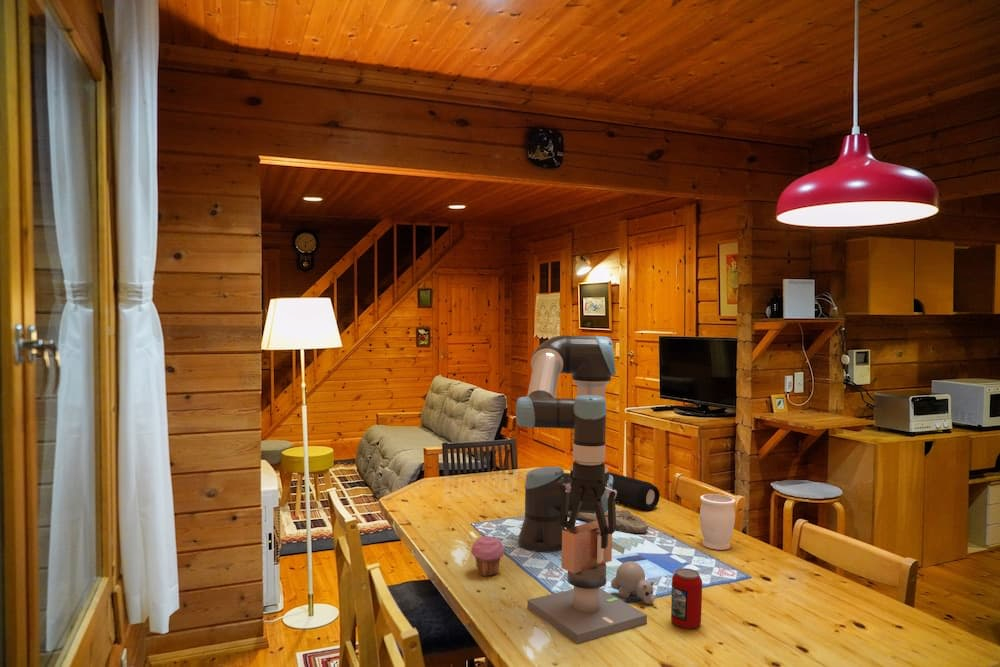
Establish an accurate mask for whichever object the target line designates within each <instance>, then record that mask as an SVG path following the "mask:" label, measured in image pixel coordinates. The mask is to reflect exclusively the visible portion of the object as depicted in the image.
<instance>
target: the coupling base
mask: <svg viewBox="0 0 1000 667" xmlns="http://www.w3.org/2000/svg"><path fill="white" fill-rule="evenodd" d="M527 609H528V610H530V611H531V612H532V613H533V614H535V615H536V616H538V617H539V618H541V619H542V620H543V621H545V622H546V623H547V624H549V625H550V626H552V627H553V628H555V629H556V630H557V631H558V632H560V633H562V634H563V635H564V636H566V637H568V639H571V641H573V642H574V643H576V644H582V643H585V642H589V641H592V640H595V639H599V638H601V637H605V636H609V635H612V634H616V633H619V632H622V631H626V630H629V629H633V628H635V627H639V626H643V625H646V624H648V615H647V614H646V613H645V612H643V611H641V610H639V609H637V608H635V607H634V606H632V605H630V604H629V603H627V602H625V601H623V600H622V599H620V598H618V597H617V596H615V595H612V594H611V593H609V592H608V591H606V590H604V589H602V587H600V588H595V589H584V588H579V587H575V586H573V588H572V589H568V590H563V591H560V592H559V591H558V592H555V593H551V594H546V595H542V596H538V597H533V598H530V599H527Z"/></svg>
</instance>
